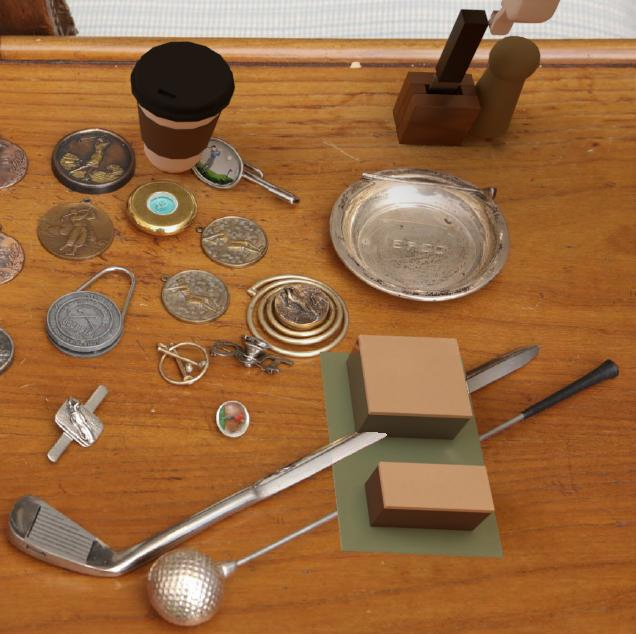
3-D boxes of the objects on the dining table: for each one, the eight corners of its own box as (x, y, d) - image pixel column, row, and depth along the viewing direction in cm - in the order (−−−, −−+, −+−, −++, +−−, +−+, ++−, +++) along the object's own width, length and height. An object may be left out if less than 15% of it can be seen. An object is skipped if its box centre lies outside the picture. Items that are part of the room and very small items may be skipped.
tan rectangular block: (464, 488, 82) (485, 465, 78) (473, 531, 80) (495, 510, 76) (364, 483, 82) (379, 461, 78) (369, 526, 80) (386, 506, 76)
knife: (435, 121, 108) (487, 9, 94) (438, 135, 107) (491, 24, 93) (410, 120, 108) (458, 8, 94) (412, 134, 107) (462, 22, 93)
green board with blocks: (460, 361, 90) (482, 330, 85) (501, 561, 80) (529, 538, 75) (317, 355, 90) (331, 324, 86) (339, 554, 80) (356, 531, 75)
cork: (511, 141, 106) (552, 68, 97) (457, 134, 107) (494, 61, 97) (506, 104, 109) (546, 30, 100) (454, 98, 110) (489, 24, 100)
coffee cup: (192, 204, 101) (206, 126, 90) (107, 164, 104) (111, 84, 93) (237, 142, 106) (254, 61, 95) (154, 105, 109) (163, 23, 98)
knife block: (453, 111, 109) (471, 73, 104) (461, 146, 106) (481, 108, 101) (392, 109, 109) (407, 71, 104) (399, 144, 106) (415, 106, 101)
